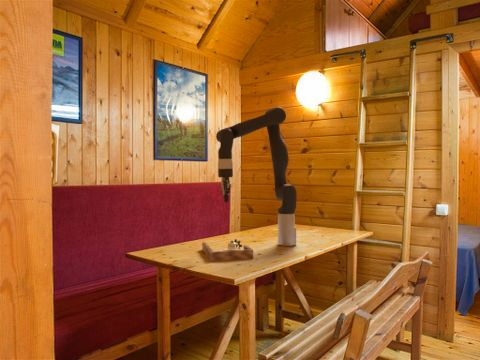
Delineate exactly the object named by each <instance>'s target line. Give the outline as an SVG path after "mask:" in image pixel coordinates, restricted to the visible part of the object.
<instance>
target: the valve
mask: <svg viewBox="0 0 480 360" xmlns="http://www.w3.org/2000/svg"><path fill="white" fill-rule="evenodd" d="M233 240H234V241H233ZM233 240H230V242H228V243H227V246H228V247H227V249H241V248H242V247H243V244H241V240H237V238H234V239H233Z"/></svg>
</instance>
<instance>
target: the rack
mask: <svg viewBox="0 0 480 360" xmlns="http://www.w3.org/2000/svg"><path fill="white" fill-rule="evenodd" d="M201 247H202V248H201V249H202V252H203V253H204V254H205V255H206V257H207V259H209V261H210V262H219V261H220V262H221V261H235V260H250V259H254V249H252V248H251V247H250V246H248V245H245V244H244V245H243V249H242V248H240V249H238V248H236V249H228V248H227V249H223V250H219V251H217V250H216V251H214V250H213V249H212V248H211V247H210V246H209V245H208V244H207V242H205V241H202V243H201Z"/></svg>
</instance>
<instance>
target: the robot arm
mask: <svg viewBox="0 0 480 360" xmlns="http://www.w3.org/2000/svg"><path fill="white" fill-rule="evenodd" d="M286 118H287V112H286V110H285V109H284V108H282V107H280V106H276V107H273V108H269V109H267V110H266V111H265V113H264V114H261V115H260V116H257V117H253V118H249V119H246V120H243V121H241V122H238V123H236V124H234V125H231V126H229V127H225V128H222V129H220V130H218V131H217V133H216V135H215V139H216V140H217V141H218V142H219V148H218V151H217V154H218V162H217V177H218V178H221V181H220V187H221V192H222V195H223V202H224V203H229V195H230V192H231V187H232V184H231V180H230V178H233V177H234V170H233V169H234V167H233V165H234V164H233V147H234V146H233V145H234V140H235V139H237V138H241V137H245V136H246V135H249V134H251V133H254V132H256V131H258V130H261V129H263V128H266V129H267V134H268V143H269V147H270V156H271V161H272V168H273V170H272V171H273V176H274V177H273V178H274V194H275V197H276V199H278V201H281V206H279V208H278V209H277V232H278V233H277V245H278V246H283V247H284V246H285V247H288V246H289V247H291V246H296V245H297V227H296V221H295V220H296V218H295V217H296V216H295V215H296V214H295V213H296V210H297V199H298V198H297V197H298V196H297V193H298V192H297V188H296V186H294V185H292V184H288V183H287V178H286V175H287V170H288V169H287V168H288V165H289V163H290V162H289V160H290V159H289V151H288V150H289V149H288V147H287V144H286V142H285V140H284V138H283V136H282V133H281V129H280V125H281V124H283V123H284V122H285V121H286Z"/></svg>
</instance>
